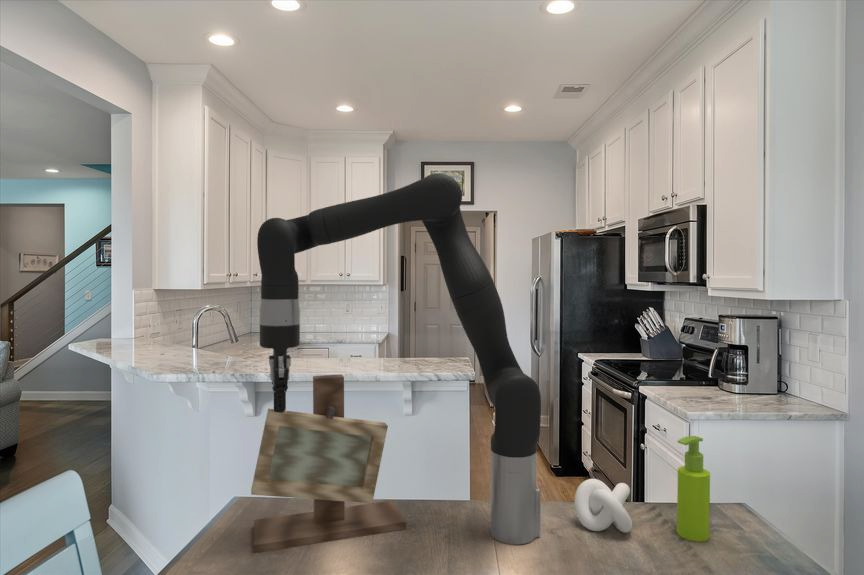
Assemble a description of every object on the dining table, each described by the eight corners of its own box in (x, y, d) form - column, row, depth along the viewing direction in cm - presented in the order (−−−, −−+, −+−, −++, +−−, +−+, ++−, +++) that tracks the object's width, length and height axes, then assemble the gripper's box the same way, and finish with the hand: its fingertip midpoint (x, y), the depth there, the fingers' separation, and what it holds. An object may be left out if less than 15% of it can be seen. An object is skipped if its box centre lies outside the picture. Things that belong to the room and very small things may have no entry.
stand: (393, 506, 122) (392, 368, 121) (406, 528, 111) (406, 377, 111) (253, 526, 112) (252, 376, 111) (254, 552, 102) (252, 387, 101)
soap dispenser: (667, 532, 110) (668, 435, 109) (689, 525, 113) (691, 431, 113) (692, 545, 105) (694, 444, 104) (715, 537, 108) (717, 439, 107)
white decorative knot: (650, 537, 108) (651, 493, 108) (598, 545, 105) (599, 500, 105) (616, 513, 119) (616, 473, 119) (568, 520, 116) (568, 478, 115)
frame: (369, 498, 112) (386, 413, 113) (372, 503, 110) (389, 416, 111) (251, 489, 105) (270, 398, 105) (251, 494, 102) (270, 401, 103)
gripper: (302, 325, 99) (302, 418, 100) (296, 319, 112) (296, 401, 112) (260, 325, 97) (260, 421, 97) (259, 319, 109) (258, 404, 110)
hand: (279, 410), depth 105 cm, fingers closed
